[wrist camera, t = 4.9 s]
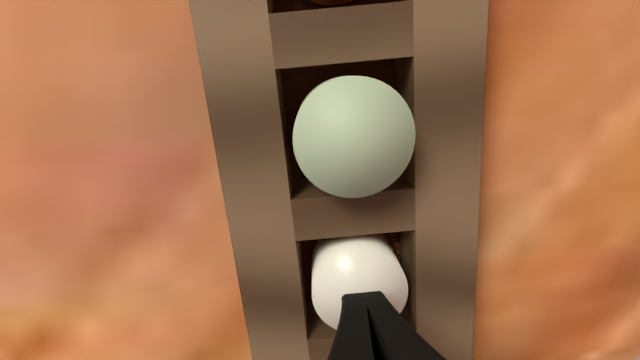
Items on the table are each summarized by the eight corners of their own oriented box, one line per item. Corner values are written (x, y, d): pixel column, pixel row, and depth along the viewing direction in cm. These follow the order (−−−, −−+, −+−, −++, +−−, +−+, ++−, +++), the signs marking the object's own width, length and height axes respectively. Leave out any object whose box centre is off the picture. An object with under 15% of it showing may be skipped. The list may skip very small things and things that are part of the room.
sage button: (396, 170, 13) (416, 192, 11) (301, 179, 13) (299, 203, 11) (394, 71, 12) (414, 70, 10) (290, 80, 12) (285, 81, 10)
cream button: (394, 291, 16) (408, 329, 14) (315, 298, 16) (316, 337, 14) (391, 218, 15) (407, 245, 13) (307, 226, 15) (307, 255, 12)
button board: (449, 321, 17) (472, 361, 15) (263, 337, 17) (256, 381, 15) (460, -204, 11) (501, -280, 9) (180, -179, 11) (144, -247, 9)
